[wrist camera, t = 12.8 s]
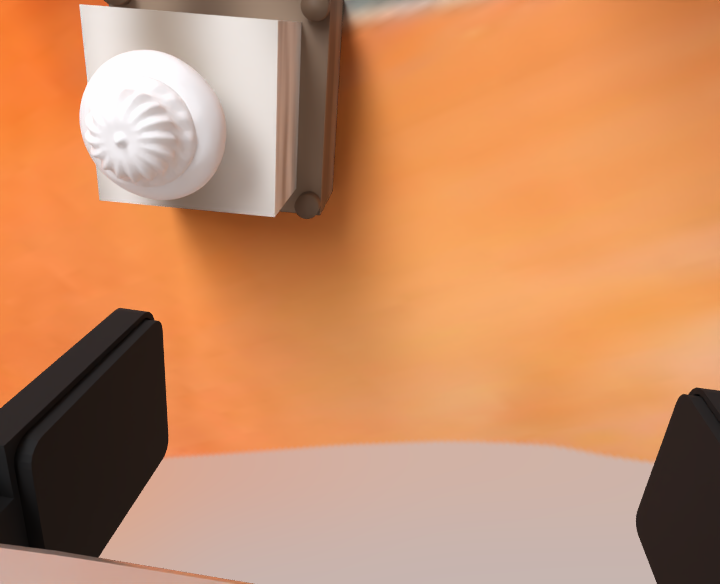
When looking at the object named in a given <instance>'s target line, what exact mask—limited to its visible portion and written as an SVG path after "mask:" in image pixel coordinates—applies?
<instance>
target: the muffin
mask: <svg viewBox="0 0 720 584" xmlns="http://www.w3.org/2000/svg"><path fill="white" fill-rule="evenodd" d="M225 119H226V118H225V115H224V112H223V109H222V106H221V102H220V101H219V100H218V98H217V96H216V94H215V93H214V90H213V89H212V88H211V87H210V86H209V84H208V83H207V82H206V79H204V78H203V77H202V76H201V75H200V74H199V73H198V72H197V71H196V70H194V69H193V68H192V67H191V66H189V65H188V64H186V63H185V62H183V61H182V60H180V59H178V58H176V57H174V56H172V55H169V54H166V53H164V52H160V51H155V50H133V51H128V52H125V53H122V54H119V55H117V56H114V57H113V58H111V59H109V60H108V61H106V62H105V63H104V64H102V65H101V66H100V67H99V68H98V69H97V71H96V72H95V73H94V74H93V76H92V77H91V79H90V80H89V82H88V84H87V86H86V88H85V91H84V94H83V97H82V100H81V105H80V128H81V133H82V137H83V140H84V143H85V146H86V148H87V150H88V152H89V154H90V156H91V158H92V160H93V161H94V162H95V164H96V165H97V167H98V168H99V169H100V170H101V171H102V172H103V174H104V175H106V176H107V177H108V178H109V179H110V180H111V181H112V182H114V183H115V184H117V185H118V186H120V187H121V188H123V189H125V190H127V191H129V192H131V193H133V194H136V195H138V196H141V197H144V198H149V199H154V200H172V199H178V198H182V197H185V196H187V195H190V194H192V193H194V192H196V191H197V190H199V189H200V188H202V187H203V186H204V185H205V184H206V183H207V182H208V181H209V180H210V179H211V178H212V176H213V175H214V173H215V172H216V170H217V168H218V166H219V164H220V162H221V159H222V156H223V153H224V149H225V142H226V131H227V130H226V121H225Z"/></svg>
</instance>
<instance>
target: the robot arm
mask: <svg viewBox="0 0 720 584" xmlns="http://www.w3.org/2000/svg"><path fill="white" fill-rule="evenodd" d="M167 446H168V422H167V403H166V385H165V366H164V348H163V330H162V325H161V323H160V322H159V321H154V318H153V315H152V314H151V313H150V312H145V311H138V310H131V309H123V308H118V309H117V310H115V311H114V312H113V313H112V314H110V315H109V316H108V317H107V318H106V319H105V320H103V321H102V322H101V323H100V324H99V325H98V326H96V327H95V328H94V329H93V330H92V331H90V332H89V333H88V334H87V335H86V336H85V337H83V338H82V339H81V340H80V341H79V342H78V343H76V344H75V345H74V346H73V347H72V348H71V349H69V350H68V351H67V352H66V353H65V354H64V355H62V356H61V357H60V358H59V359H58V360H57V361H55V362H54V363H53V364H52V365H51V366H49V367H48V368H47V369H46V370H45V371H44V372H42V373H41V374H40V375H39V376H38V377H37V378H35V379H34V380H33V381H32V382H31V383H30V384H28V385H27V386H26V387H25V388H24V389H23V390H21V391H20V392H19V393H18V394H17V395H16V396H14V397H13V398H12V399H11V400H10V401H9V402H7V403H6V404H5V405H4V406H3V407H1V408H0V584H253V583H247V582H241V581H235V580H229V579H223V578H217V577H210V576H204V575H199V574H193V573H187V572H181V571H175V570H168V569H163V568H157V567H151V566H145V565H139V564H132V563H127V562H121V561H115V560H109V559H103V558H98V557H99V556H100V554H101V553H102V551H103V549H104V548H105V546H106V545H107V543H108V542H109V540H110V539H111V537H112V535H113V534H114V533H115V531H116V530H117V528H118V527H119V525H120V524H121V522H122V520H123V519H124V517H125V516H126V514H127V513H128V511H129V510H130V508H131V507H132V505H133V504H134V502H135V501H136V499H137V498H138V496H139V494H140V493H141V491H142V490H143V488H144V487H145V485H146V484H147V482H148V481H149V479H150V478H151V476H152V475H153V473H154V472H155V470H156V468H157V467H158V465H159V464H160V462H161V461H162V459H163V457H164V456H165V453H166V450H167ZM636 527H637V532H638V536H639V538H640V541H641V543H642V546H643V548H644V551H645V554H646V556H647V559H648V561H649V564H650V567H651V569H652V572H653V574H654V577H655V580H656V582H657V584H720V391H717V390H710V389H703V388H694V389H693V390H692V391H691V392H690V393H689V395H686V394H683V395H681V396H680V397H679V398H678V400H677V402H676V405H675V408H674V411H673V414H672V416H671V419H670V422H669V425H668V427H667V430H666V433H665V436H664V439H663V441H662V444H661V447H660V450H659V452H658V455H657V458H656V461H655V463H654V466H653V469H652V472H651V475H650V477H649V480H648V483H647V486H646V488H645V491H644V494H643V497H642V500H641V503H640V505H639V508H638V511H637V516H636Z"/></svg>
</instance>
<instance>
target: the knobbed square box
mask: <svg viewBox="0 0 720 584" xmlns="http://www.w3.org/2000/svg"><path fill="white" fill-rule="evenodd" d="M104 1H105V2H107V3H108V4H109V7H107V6H94V5H81V4H79V5H80V15H81V24H82V34H83V44H84V53H85V63H86V73H87V82H89V80H90V79H91V77H92V76H93V74H94V73H95V72H96V71H97V69H98V68H99V67H100V66H101V65H102V64H104V63H105V62H106V61H108V60H109V59H111V58H113V57H114V56H117V55H119V54H122V53H125V52H128V51H133V50H155V51H160V52H164V53H166V54H169V55H172V56H174V57H176V58H178V59H180V60H182V61H183V62H185V63H186V64H188V65H189V66H191V67H192V68H193V69H194V70H196V71H197V72H198V73H199V74H200V75H201V76H202V77H203V78H204V79H206V82H207V83H208V84H209V86H210V87H211V88H212V89H213V90H214V93H215V94H216V96H217V98H218V100H219V101H220V102H221V106H222V109H223V112H224V115H225V118H226V119H225V121H226V130H227V131H226V142H225V149H224V153H223V156H222V159H221V162H220V164H219V166H218V168H217V170H216V172H215V173H214V175H213V176H212V178H211V179H210V180H209V181H208V182H207V183H206V184H205V185H204V186H203V187H202V188H200V189H199V190H197V191H196V192H194V193H192V194H190V195H187V196H185V197H182V198H178V199H172V200H154V199H149V198H144V197H141V196H138V195H136V194H133V193H131V192H129V191H127V190H125V189H123V188H121V187H120V186H118V185H117V184H115V183H114V182H112V181H111V180H110V179H109V178H108V177H107V176H106V175H104V174H103V172H102V171H101V170H100V169H99V168H98V167H97V165H96V169H97V179H98V189H99V199H100V200H102V201H113V202H123V203H134V204H144V205H154V206H165V207H175V208H185V209H196V210H206V211H216V212H227V213H237V214H248V215H258V216H268V217H275V216H276V215H277V213H278V212H279V211H281V212H292V213H297V215H298V216H300V217H301V218H304V219H310V218H313V217H314V216H315V215H321V213H322V211H323V209H324V207H325V205H326V203H327V201H328V199H329V197H330V195H331V193H332V191H333V175H334V158H335V140H336V122H337V105H338V87H339V70H340V52H341V34H342V17H343V0H104Z"/></svg>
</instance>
